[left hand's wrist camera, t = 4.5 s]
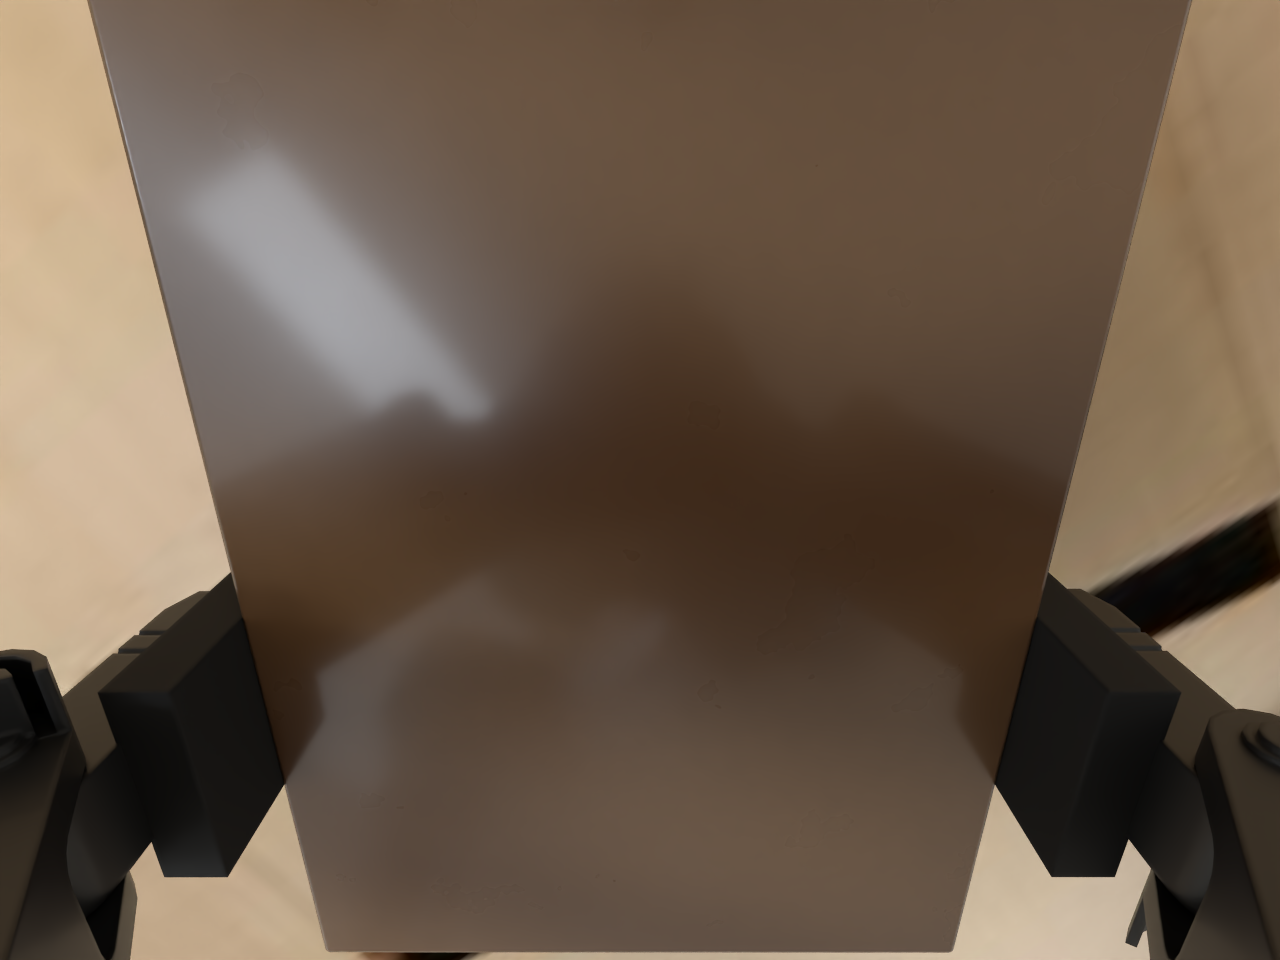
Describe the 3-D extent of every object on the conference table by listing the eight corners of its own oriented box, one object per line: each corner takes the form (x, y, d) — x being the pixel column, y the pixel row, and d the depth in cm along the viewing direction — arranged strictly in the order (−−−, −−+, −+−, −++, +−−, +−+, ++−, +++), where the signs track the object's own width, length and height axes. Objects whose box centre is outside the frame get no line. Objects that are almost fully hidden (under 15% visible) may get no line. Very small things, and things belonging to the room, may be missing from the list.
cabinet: (376, -199, 13) (-184, -1050, 4) (904, -199, 13) (1465, -1058, 4) (465, 619, 19) (324, 954, 11) (814, 620, 19) (954, 954, 11)
